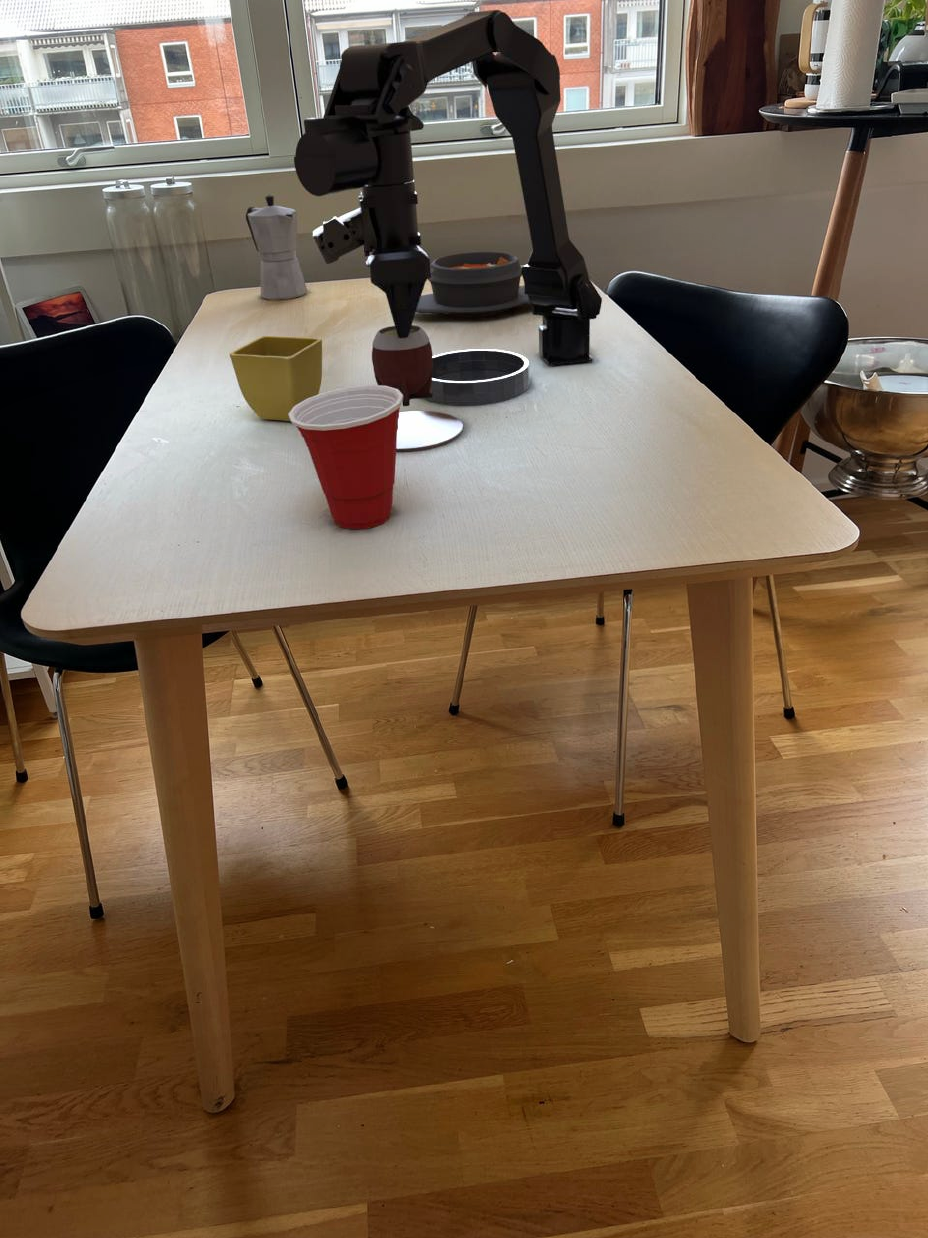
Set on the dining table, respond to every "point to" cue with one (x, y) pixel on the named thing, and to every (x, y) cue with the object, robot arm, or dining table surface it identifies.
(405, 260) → the robot arm
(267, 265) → the coffeepot
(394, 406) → the plastic cup
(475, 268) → the casserole
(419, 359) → the mate gourd
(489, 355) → the pan
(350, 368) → the dining table surface
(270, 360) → the flower pot
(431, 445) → the disc
